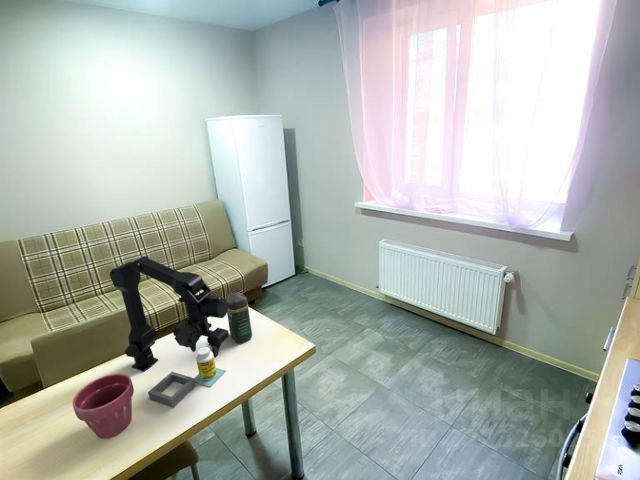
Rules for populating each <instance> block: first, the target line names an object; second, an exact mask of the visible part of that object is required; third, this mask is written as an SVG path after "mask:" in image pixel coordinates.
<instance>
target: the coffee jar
mask: <svg viewBox="0 0 640 480" xmlns="http://www.w3.org/2000/svg"><path fill="white" fill-rule="evenodd" d="M224 299H225V300H226V301H227V303H228V311H227V314H226V317H227V322H228V329H229V336H230V338H231V339H232V340H233V341H234V342H235V343H236V344H237V343H245V342H247V341H249V340H250V339H252V337H253V331H252V325H251V319H250V312H249V302H248V298H247V296H246V295H245V294H243V293H242V292H238V291H234V292H231V293H228V294H227V295H226V296H225V298H224Z"/></svg>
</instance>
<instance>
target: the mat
mask: <svg viewBox="0 0 640 480" xmlns="http://www.w3.org/2000/svg"><path fill="white" fill-rule="evenodd" d="M226 372H227V370H225V369H223V368H218V367H216V375H215V376H214V377H213V378H212V379H210V380H202V379H201V378H200V376H199V373H198V374H196V375H195V377H193V378H194V379H195V383H196V384H199V385H202V386H205V387H206V388H207V387H208V388H211V387H213V385H214V384H215V383H216V382H217V381H218V380H219V379H220V378H221V377H222V376H223V375H224V374H225V373H226Z"/></svg>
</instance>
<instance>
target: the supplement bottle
mask: <svg viewBox="0 0 640 480" xmlns="http://www.w3.org/2000/svg"><path fill="white" fill-rule="evenodd" d="M196 354H197V355H196V358H195V360H196V366H197V370H198V374H199V376H200V378H201V379H202V380H210V379H212V378H213V377H214V376H215V375H216V368H217V366H216V362H215V358H214V355H213V352H212V350H211V348H209V347H207V346H204V347H201V348H199V349H198V350H197V353H196Z"/></svg>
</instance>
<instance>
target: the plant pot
mask: <svg viewBox="0 0 640 480" xmlns="http://www.w3.org/2000/svg"><path fill="white" fill-rule="evenodd" d="M132 381H133V380H132V378H131V377H130V376H129V375H127V374H125V373H112V374H108V375H105V376H102V377H99V378H97V379H95V380H92V381H91V382H90V383H88V384H87V385H85V386H84V387H83V388H81V389H79V391H78V392H77V394H75V396H74V398H73V401H72V408H73V411H74V414H75V415H76V418H77V419H78V420H80V421H83V422H84V423H85V424H86V425H87V426H88V427H89V429H90V430H91V431H92V432H93V433H94V434H95V436H96V437H97V438H99V439H103V440H105V439H106V440H107V439H111V438H114V437H116V436H118V435H120V434H121V433H123V432H124V431H125V430H126V429H127V428H128V427H129V426H130V424H131V423H132V416H133V415H132V411H133V410H132V403H133V402H132V399H133V396H134V393H135V389H134V384H133V382H132Z"/></svg>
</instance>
